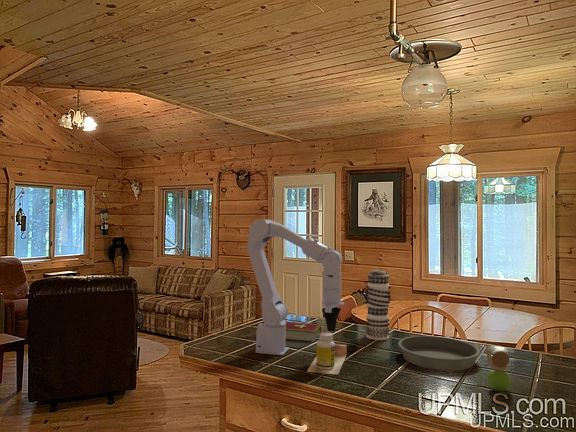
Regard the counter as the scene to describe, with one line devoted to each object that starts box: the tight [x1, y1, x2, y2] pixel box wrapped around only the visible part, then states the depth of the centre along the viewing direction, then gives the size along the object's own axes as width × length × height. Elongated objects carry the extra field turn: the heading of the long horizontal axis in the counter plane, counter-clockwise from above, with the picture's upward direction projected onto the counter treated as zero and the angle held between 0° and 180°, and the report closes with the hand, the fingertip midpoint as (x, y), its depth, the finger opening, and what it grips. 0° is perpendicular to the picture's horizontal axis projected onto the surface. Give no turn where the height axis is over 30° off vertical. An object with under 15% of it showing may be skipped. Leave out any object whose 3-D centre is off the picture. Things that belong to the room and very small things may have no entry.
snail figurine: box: [484, 343, 512, 393], centre depth 113 cm, size 5×6×12 cm
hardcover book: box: [285, 321, 322, 342], centre depth 165 cm, size 12×21×4 cm, turn 75°
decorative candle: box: [365, 269, 392, 341], centre depth 164 cm, size 9×9×25 cm
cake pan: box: [397, 335, 481, 372], centre depth 138 cm, size 25×25×4 cm
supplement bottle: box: [315, 331, 336, 369], centre depth 129 cm, size 5×5×10 cm
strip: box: [306, 343, 348, 376], centre depth 133 cm, size 9×20×3 cm, turn 165°
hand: (331, 330), depth 139 cm, fingers closed
